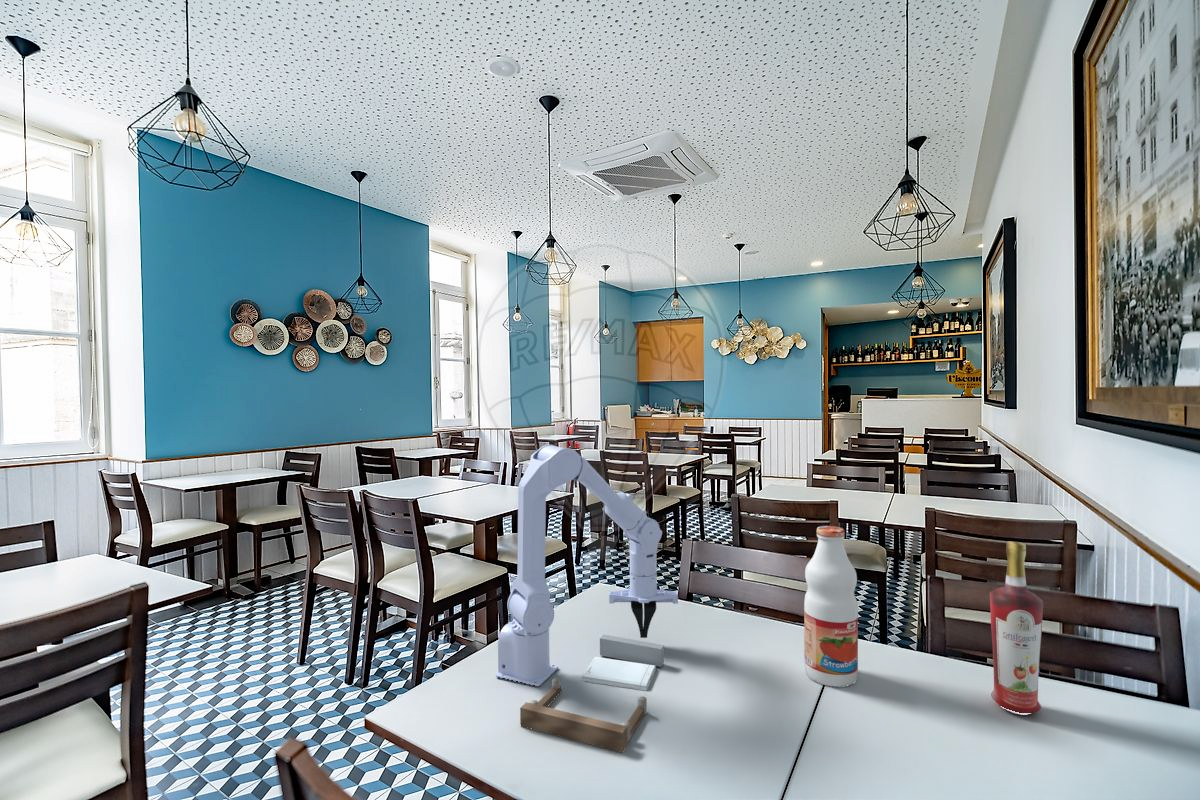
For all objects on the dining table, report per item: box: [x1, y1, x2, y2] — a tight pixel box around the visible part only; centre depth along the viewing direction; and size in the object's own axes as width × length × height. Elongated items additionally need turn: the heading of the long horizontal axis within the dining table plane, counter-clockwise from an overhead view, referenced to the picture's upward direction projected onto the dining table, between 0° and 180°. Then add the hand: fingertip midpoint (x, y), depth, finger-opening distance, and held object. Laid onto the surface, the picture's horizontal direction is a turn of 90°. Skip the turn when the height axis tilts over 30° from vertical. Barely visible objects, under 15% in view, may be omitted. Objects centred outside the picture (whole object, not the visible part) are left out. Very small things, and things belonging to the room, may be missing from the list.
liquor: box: [989, 540, 1044, 714], centre depth 96 cm, size 7×7×28 cm
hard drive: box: [581, 656, 657, 691], centre depth 109 cm, size 2×8×12 cm
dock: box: [519, 677, 648, 753], centre depth 95 cm, size 18×12×3 cm, turn 67°
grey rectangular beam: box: [599, 634, 665, 668], centre depth 115 cm, size 13×2×4 cm, turn 67°
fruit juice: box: [803, 525, 859, 688], centre depth 108 cm, size 9×9×28 cm
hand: (643, 635), depth 122 cm, fingers closed
